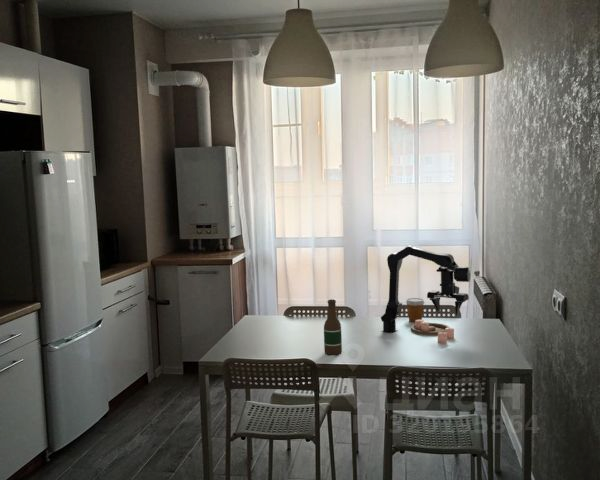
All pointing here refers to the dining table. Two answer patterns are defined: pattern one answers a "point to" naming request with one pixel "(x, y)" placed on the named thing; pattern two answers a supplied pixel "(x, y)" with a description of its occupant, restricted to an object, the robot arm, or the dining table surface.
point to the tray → (431, 329)
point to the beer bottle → (332, 331)
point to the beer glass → (415, 309)
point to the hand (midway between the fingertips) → (447, 313)
